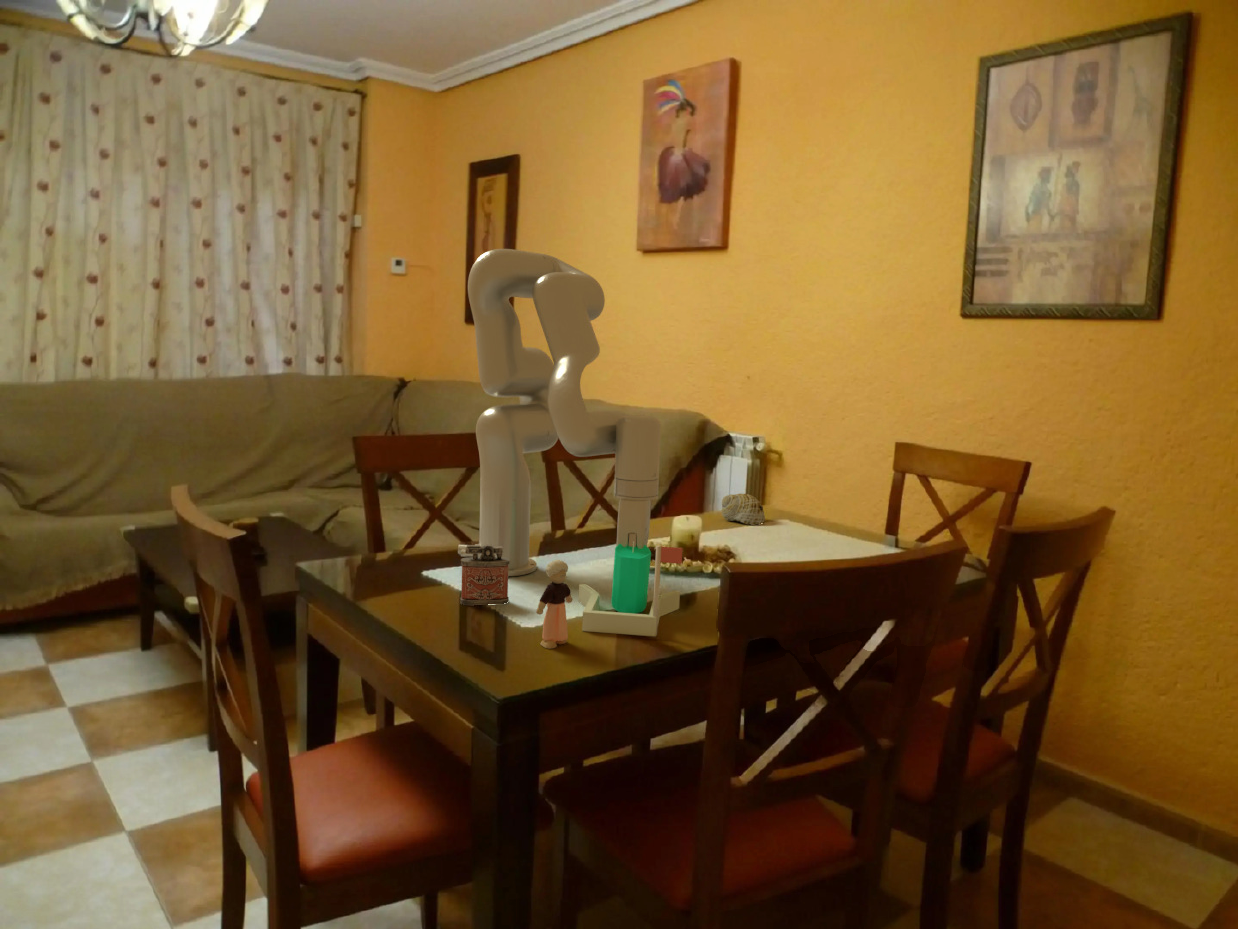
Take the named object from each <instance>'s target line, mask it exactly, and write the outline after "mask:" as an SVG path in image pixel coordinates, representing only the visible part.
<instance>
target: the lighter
mask: <svg viewBox="0 0 1238 929" xmlns="http://www.w3.org/2000/svg"><path fill="white" fill-rule="evenodd" d="M466 545H467V546H466V552H465V553H466V554H473V557H464V558H461V559H460V565H461V596H460V602H459V603H460V604H461V605H462V604H463V605H462V606H474V605H488V604H504V603H507V602H508V601H510V600H509V596H508V594H509V591H508V590H509V576H508V565H509V563H510V559H508V558H501V557H502V553H503V547H502V546H491V544H485V545H484V546H480V545H475V544H474V545H473V544H466ZM478 554H482V555H481V556H480V557H478ZM494 554H496V555H497V557H495V555H494ZM508 603H509V602H508Z"/></svg>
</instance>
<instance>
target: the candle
mask: <svg viewBox="0 0 1238 929" xmlns="http://www.w3.org/2000/svg"><path fill="white" fill-rule="evenodd" d="M636 545H637V543H636ZM651 557H652V552H651V549H650V548H649V547H648V545H647V546H646V545H644V548H642V549H640V548H638V547H637V546H636V547H634V542H633V547H632V546H629V542H628V545H627V546H626V547H623V546H622V544H619V545H618V546H617V547H616V546H615V548H614V559H613V572H612V584H611V585H612V587H611V588H612V589H611V599H610V600H611V602H610V603H611V607H612V609H614V610H615V612H616V611H617V612H619V613H633V614H641V613H642V612H644V611H645V609H646V608H647V604H648V592H649V583H650V582H649V579H650V571H651V570H650V569H651V559H652V558H651Z"/></svg>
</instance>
